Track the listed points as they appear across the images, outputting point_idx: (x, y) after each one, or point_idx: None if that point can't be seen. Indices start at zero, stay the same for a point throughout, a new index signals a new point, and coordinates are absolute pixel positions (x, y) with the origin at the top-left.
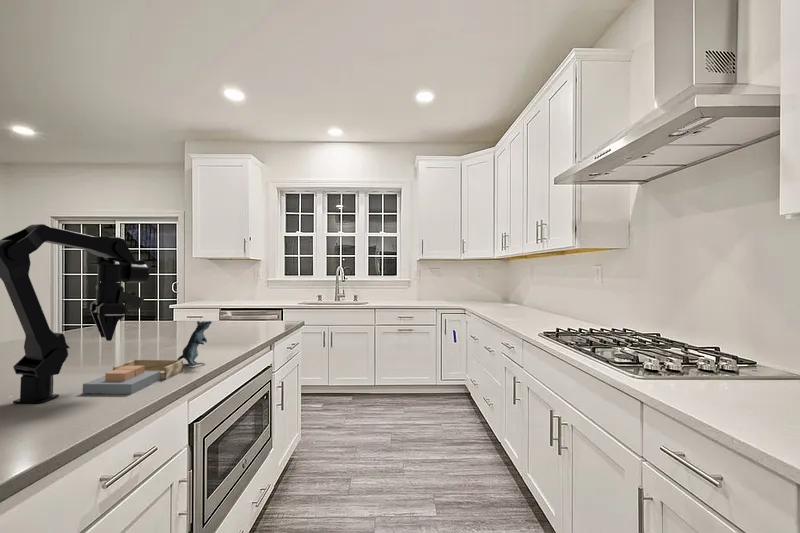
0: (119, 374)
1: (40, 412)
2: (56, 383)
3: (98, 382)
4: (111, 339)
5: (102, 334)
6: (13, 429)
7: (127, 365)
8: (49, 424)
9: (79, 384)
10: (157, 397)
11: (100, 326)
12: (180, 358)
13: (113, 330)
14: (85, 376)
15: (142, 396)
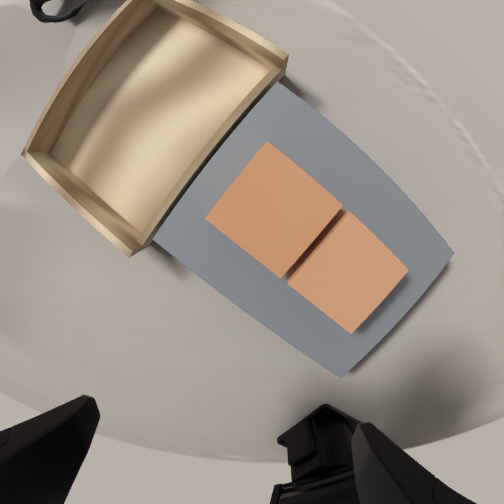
0: (390, 287)
1: (428, 416)
2: (132, 381)
3: (352, 340)
4: (372, 425)
5: (89, 424)
6: (475, 424)
7: (66, 183)
8: (495, 392)
9: (178, 345)
10: (500, 199)
11: (65, 476)
12: (42, 11)
13: (419, 473)
14: (65, 303)
15: (474, 227)
